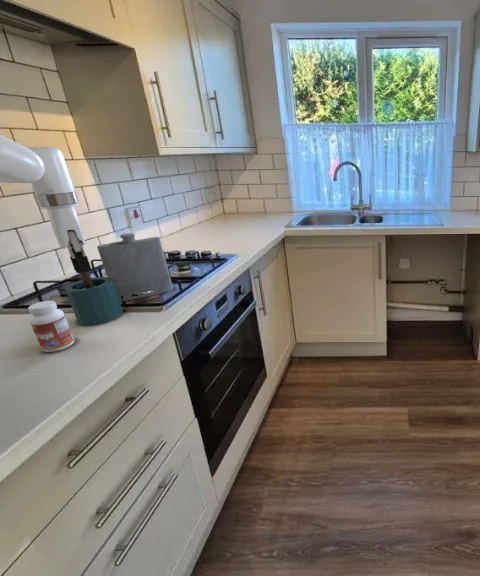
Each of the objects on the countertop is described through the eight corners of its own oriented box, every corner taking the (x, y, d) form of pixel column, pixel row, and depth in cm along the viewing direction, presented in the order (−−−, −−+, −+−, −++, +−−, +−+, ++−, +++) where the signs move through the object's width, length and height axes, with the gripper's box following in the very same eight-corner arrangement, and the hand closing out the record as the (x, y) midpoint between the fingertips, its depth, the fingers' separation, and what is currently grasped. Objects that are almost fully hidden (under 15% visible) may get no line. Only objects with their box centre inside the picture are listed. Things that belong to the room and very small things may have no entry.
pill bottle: (35, 352, 85) (15, 310, 80) (59, 339, 90) (41, 298, 86) (59, 353, 84) (40, 310, 80) (81, 339, 90) (65, 299, 86)
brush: (87, 313, 97) (65, 254, 91) (84, 308, 100) (63, 250, 94) (108, 307, 100) (89, 250, 94) (105, 302, 103) (86, 246, 97)
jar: (81, 329, 95) (67, 294, 91) (75, 317, 102) (62, 284, 98) (126, 316, 102) (115, 283, 98) (118, 305, 108) (107, 274, 104)
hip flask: (172, 287, 121) (156, 228, 113) (174, 290, 118) (158, 230, 110) (115, 299, 113) (94, 237, 105) (115, 303, 109) (93, 239, 102)
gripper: (35, 199, 92) (61, 267, 99) (41, 206, 81) (69, 281, 88) (73, 195, 97) (95, 261, 104) (82, 201, 86) (106, 274, 93)
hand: (83, 270), depth 96 cm, fingers closed on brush
